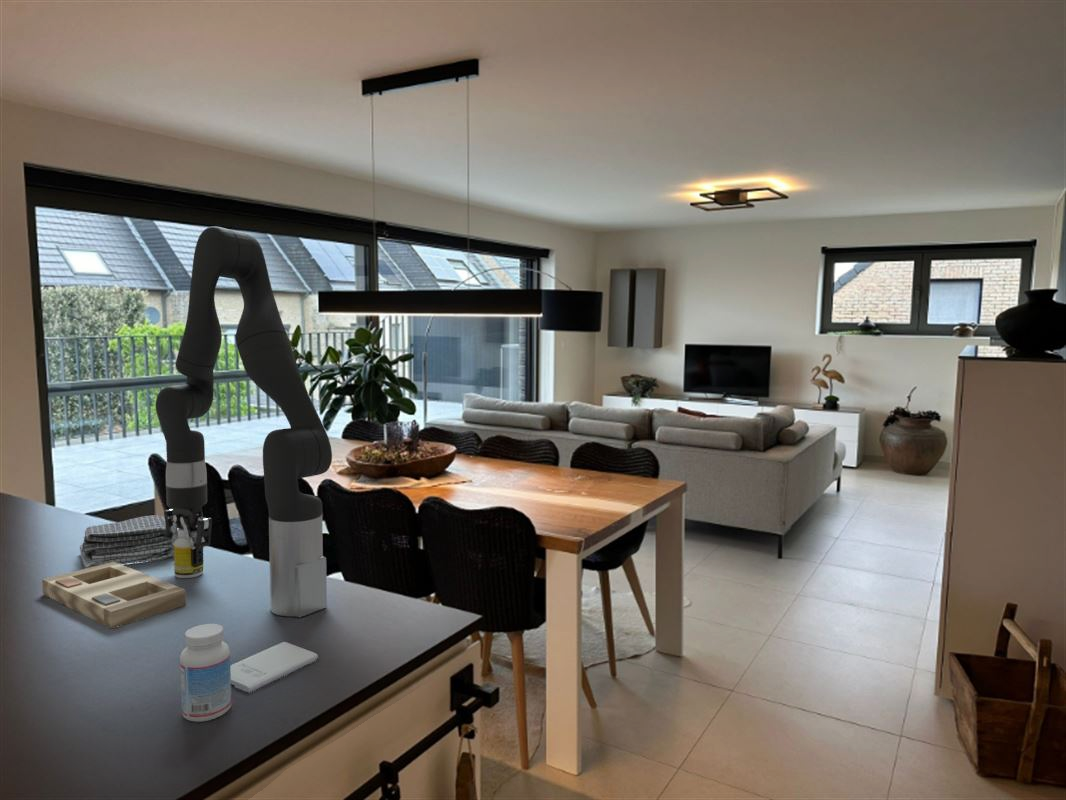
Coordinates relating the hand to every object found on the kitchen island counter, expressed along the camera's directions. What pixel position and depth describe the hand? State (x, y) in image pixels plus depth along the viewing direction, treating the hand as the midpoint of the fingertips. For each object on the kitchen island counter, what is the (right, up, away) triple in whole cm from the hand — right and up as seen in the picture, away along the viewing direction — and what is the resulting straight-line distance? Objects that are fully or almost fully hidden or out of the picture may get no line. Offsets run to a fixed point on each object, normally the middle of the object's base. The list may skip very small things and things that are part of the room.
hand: (188, 562), depth 148 cm
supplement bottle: (0, -3, 0) cm, 3 cm away
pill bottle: (+27, -8, -52) cm, 59 cm away
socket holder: (-7, -4, -14) cm, 16 cm away
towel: (-19, -2, +12) cm, 23 cm away
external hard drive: (+31, -8, -40) cm, 51 cm away
